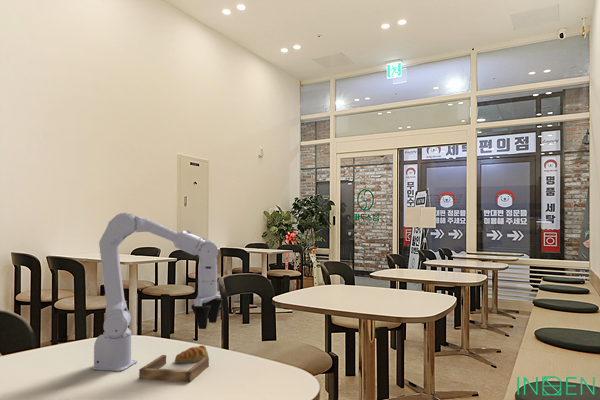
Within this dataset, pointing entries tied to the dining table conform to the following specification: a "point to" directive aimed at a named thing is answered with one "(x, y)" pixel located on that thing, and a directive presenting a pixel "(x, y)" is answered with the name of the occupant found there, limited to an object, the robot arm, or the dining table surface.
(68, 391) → the dining table surface
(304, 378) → the dining table surface
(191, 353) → the pastry
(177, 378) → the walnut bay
